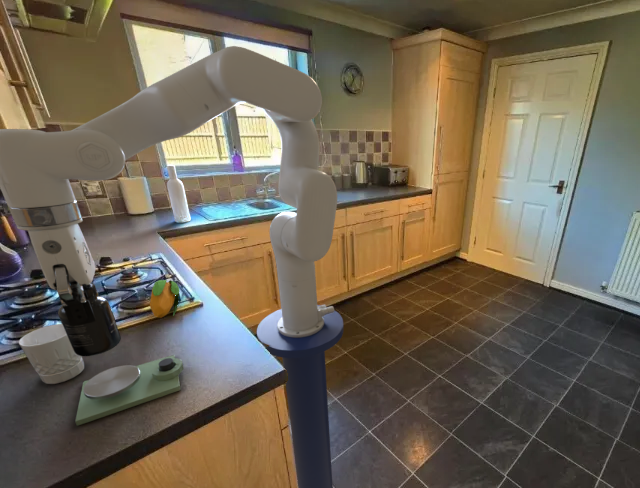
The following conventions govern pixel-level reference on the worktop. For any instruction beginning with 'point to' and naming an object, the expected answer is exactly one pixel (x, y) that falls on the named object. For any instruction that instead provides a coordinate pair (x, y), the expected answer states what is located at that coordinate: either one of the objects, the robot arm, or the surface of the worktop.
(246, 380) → the worktop surface
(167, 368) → the tare button
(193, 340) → the worktop surface
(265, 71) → the robot arm
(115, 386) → the scale pan
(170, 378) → the scale
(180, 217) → the bottle
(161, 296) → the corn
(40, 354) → the white cup
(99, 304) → the supplement bottle
